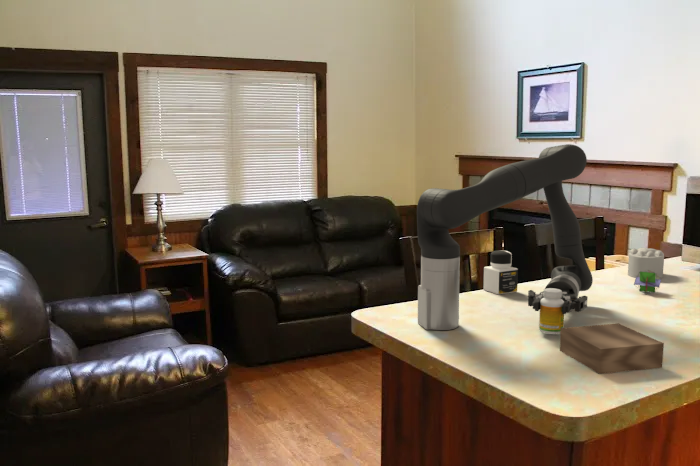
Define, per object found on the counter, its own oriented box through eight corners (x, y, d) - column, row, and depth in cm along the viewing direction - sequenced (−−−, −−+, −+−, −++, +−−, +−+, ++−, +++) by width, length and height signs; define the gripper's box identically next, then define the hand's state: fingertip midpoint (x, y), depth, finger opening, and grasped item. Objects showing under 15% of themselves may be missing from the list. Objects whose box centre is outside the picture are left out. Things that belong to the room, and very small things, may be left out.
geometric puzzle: (658, 290, 179) (661, 265, 182) (631, 287, 182) (635, 263, 185) (659, 301, 184) (662, 276, 187) (633, 298, 188) (637, 273, 191)
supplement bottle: (564, 335, 143) (566, 293, 141) (539, 334, 144) (541, 292, 143) (561, 328, 148) (563, 287, 147) (537, 327, 149) (539, 286, 148)
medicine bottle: (498, 295, 184) (499, 254, 182) (482, 289, 190) (483, 250, 188) (517, 292, 187) (519, 252, 185) (501, 287, 193) (502, 248, 192)
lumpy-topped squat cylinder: (663, 273, 211) (665, 247, 210) (661, 281, 200) (663, 254, 198) (629, 270, 216) (631, 245, 215) (625, 278, 205) (627, 251, 203)
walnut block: (599, 374, 122) (600, 349, 122) (559, 350, 136) (560, 328, 135) (662, 367, 125) (663, 343, 125) (617, 345, 139) (618, 323, 138)
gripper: (532, 274, 160) (518, 288, 146) (593, 279, 154) (584, 295, 139) (531, 303, 162) (517, 320, 147) (591, 309, 155) (583, 328, 140)
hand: (550, 308), depth 143 cm, fingers closed on supplement bottle, 5 cm apart
